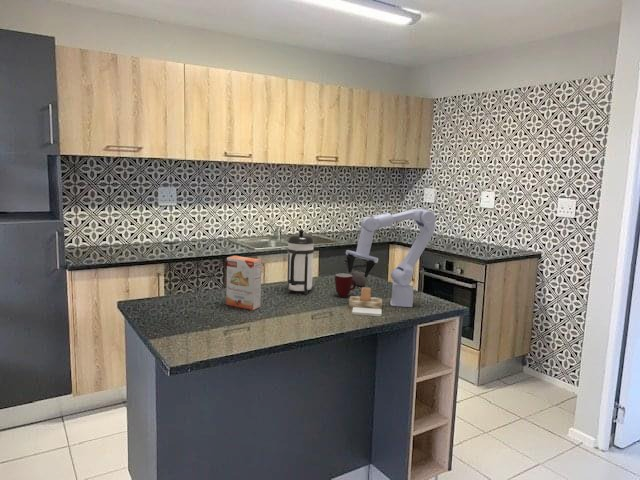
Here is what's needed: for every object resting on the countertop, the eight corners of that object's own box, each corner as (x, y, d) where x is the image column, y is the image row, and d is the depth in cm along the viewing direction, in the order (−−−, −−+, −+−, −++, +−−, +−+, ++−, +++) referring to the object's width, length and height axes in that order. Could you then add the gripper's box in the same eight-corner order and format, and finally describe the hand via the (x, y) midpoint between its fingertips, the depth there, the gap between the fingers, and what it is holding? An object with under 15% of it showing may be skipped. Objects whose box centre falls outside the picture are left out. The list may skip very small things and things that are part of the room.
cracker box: (225, 305, 201) (226, 257, 198) (234, 302, 206) (235, 254, 203) (252, 311, 195) (253, 261, 191) (261, 307, 200) (262, 258, 197)
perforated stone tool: (368, 287, 241) (369, 274, 240) (359, 288, 238) (360, 274, 237) (353, 280, 254) (353, 268, 253) (344, 281, 251) (345, 268, 250)
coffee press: (277, 288, 231) (278, 227, 226) (307, 286, 238) (309, 227, 233) (290, 298, 216) (292, 232, 211) (322, 295, 222) (324, 232, 218)
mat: (381, 311, 200) (381, 309, 200) (381, 316, 193) (381, 314, 193) (353, 309, 202) (353, 307, 202) (352, 314, 195) (352, 312, 195)
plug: (370, 305, 209) (370, 287, 208) (369, 308, 205) (370, 290, 204) (360, 304, 209) (361, 287, 208) (360, 307, 205) (361, 289, 204)
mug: (349, 292, 229) (350, 272, 228) (359, 296, 222) (360, 275, 221) (331, 294, 224) (331, 274, 222) (340, 299, 217) (341, 277, 215)
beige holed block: (381, 304, 211) (381, 298, 210) (381, 310, 202) (381, 303, 201) (350, 302, 212) (350, 295, 212) (348, 308, 203) (348, 301, 203)
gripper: (345, 240, 204) (339, 270, 205) (377, 248, 198) (370, 280, 199) (351, 240, 210) (345, 269, 211) (382, 248, 204) (375, 278, 205)
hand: (357, 274), depth 206 cm, fingers open, 7 cm apart
